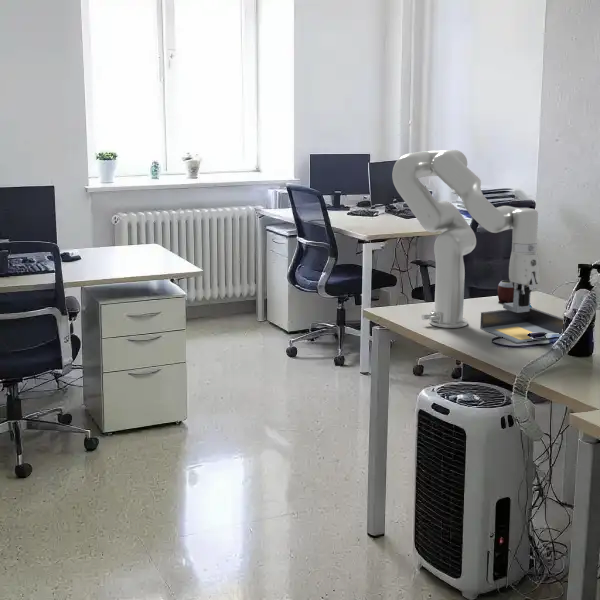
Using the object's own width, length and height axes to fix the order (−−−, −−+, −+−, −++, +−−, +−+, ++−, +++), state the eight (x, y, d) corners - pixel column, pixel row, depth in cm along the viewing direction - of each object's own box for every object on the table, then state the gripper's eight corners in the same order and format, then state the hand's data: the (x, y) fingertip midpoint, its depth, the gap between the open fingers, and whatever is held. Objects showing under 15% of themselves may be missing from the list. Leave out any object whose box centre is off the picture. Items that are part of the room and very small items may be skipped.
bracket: (529, 311, 289) (530, 289, 288) (516, 312, 287) (518, 291, 286) (515, 306, 295) (516, 285, 294) (503, 308, 293) (504, 287, 292)
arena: (516, 343, 281) (517, 326, 280) (480, 328, 298) (481, 312, 297) (565, 336, 289) (567, 319, 287) (527, 322, 306) (528, 306, 304)
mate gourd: (499, 305, 329) (501, 264, 325) (494, 300, 337) (496, 260, 333) (520, 305, 329) (522, 264, 326) (514, 299, 337) (516, 260, 333)
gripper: (550, 251, 279) (547, 309, 283) (518, 243, 293) (516, 299, 297) (530, 253, 276) (527, 311, 280) (499, 245, 290) (497, 301, 294)
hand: (521, 304), depth 288 cm, fingers closed on bracket
